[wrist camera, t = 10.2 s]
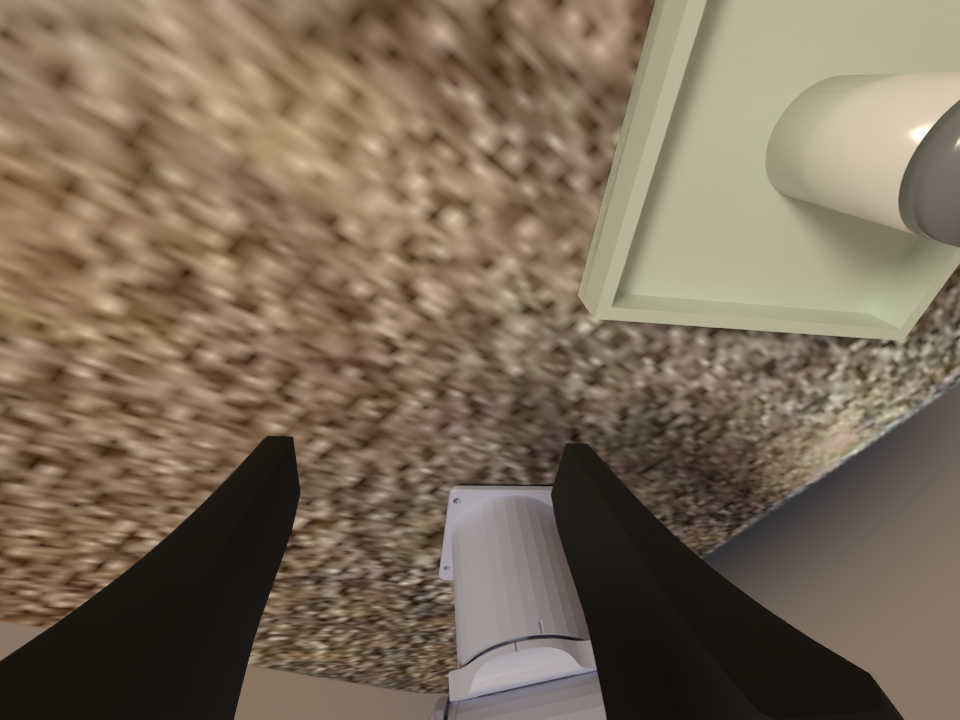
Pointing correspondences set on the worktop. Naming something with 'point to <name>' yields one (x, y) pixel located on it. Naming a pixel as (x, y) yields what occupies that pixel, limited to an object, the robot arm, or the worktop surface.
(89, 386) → the worktop surface
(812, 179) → the cylinder
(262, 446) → the robot arm
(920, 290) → the tray
